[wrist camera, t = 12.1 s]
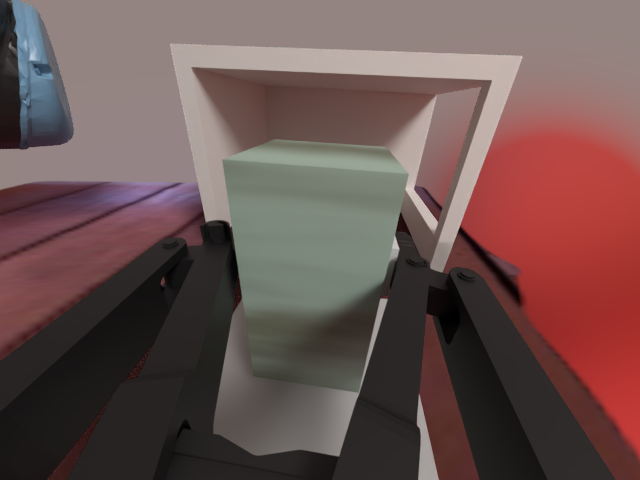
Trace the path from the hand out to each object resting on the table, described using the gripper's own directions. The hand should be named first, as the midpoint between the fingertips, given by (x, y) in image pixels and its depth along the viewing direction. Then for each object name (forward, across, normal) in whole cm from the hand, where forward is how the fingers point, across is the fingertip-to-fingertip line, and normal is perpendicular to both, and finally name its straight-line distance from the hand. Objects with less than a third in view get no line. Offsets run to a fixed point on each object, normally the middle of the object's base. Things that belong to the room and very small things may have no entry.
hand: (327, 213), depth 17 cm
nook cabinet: (+17, -1, -9) cm, 19 cm away
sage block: (-5, 0, -7) cm, 9 cm away
